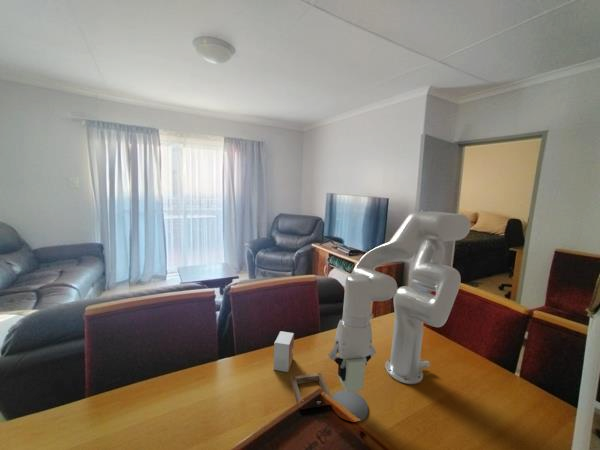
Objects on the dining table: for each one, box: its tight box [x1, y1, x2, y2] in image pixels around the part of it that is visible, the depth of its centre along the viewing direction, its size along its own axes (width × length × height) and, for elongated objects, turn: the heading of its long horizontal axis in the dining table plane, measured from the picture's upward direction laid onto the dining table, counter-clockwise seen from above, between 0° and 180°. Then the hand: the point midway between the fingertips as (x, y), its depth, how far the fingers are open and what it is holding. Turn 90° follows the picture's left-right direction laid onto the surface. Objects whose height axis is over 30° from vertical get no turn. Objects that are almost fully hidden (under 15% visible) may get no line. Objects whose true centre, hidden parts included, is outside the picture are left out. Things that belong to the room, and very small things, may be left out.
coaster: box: [331, 389, 369, 421], centre depth 77 cm, size 11×11×1 cm
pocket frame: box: [290, 372, 333, 405], centre depth 81 cm, size 10×11×2 cm
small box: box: [272, 330, 295, 373], centre depth 93 cm, size 8×6×10 cm
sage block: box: [338, 357, 366, 392], centre depth 75 cm, size 5×6×9 cm
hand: (350, 375), depth 75 cm, fingers closed on sage block, 5 cm apart
